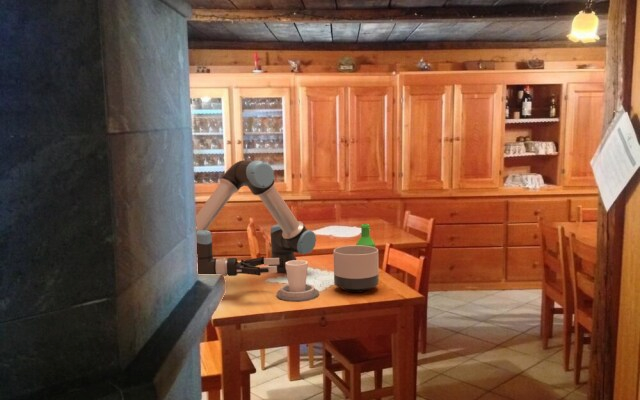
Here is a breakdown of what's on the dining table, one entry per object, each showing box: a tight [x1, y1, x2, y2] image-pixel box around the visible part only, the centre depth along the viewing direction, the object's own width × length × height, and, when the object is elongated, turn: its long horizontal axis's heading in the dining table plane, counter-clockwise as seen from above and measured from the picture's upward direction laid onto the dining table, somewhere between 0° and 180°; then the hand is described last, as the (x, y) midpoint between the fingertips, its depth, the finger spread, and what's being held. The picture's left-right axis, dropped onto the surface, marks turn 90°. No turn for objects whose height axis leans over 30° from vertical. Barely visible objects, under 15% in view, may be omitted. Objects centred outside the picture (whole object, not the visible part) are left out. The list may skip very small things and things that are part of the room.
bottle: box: [355, 223, 376, 248], centre depth 254 cm, size 9×9×25 cm
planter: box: [332, 244, 380, 293], centre depth 233 cm, size 19×19×18 cm
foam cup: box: [285, 259, 309, 292], centre depth 227 cm, size 10×9×13 cm
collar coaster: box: [276, 283, 320, 302], centre depth 228 cm, size 18×18×3 cm
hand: (278, 265), depth 226 cm, fingers open, 13 cm apart
